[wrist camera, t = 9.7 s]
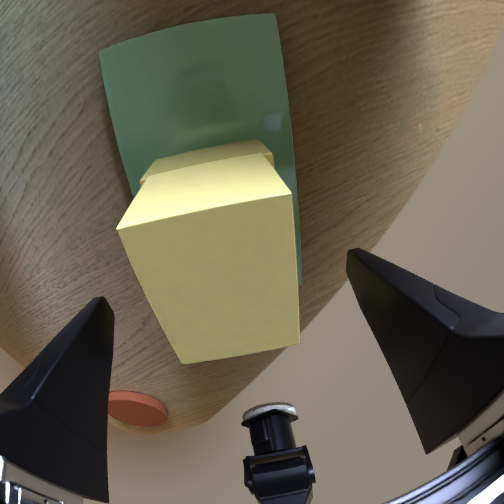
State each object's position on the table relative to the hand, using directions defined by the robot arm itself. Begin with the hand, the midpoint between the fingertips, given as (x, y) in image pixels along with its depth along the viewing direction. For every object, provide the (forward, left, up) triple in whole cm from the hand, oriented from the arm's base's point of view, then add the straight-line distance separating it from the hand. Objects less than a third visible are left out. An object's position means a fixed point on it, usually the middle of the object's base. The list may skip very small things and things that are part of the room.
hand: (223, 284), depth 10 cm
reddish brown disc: (-11, +26, -8) cm, 29 cm away
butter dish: (+1, -1, -8) cm, 8 cm away
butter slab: (0, 0, -3) cm, 3 cm away
